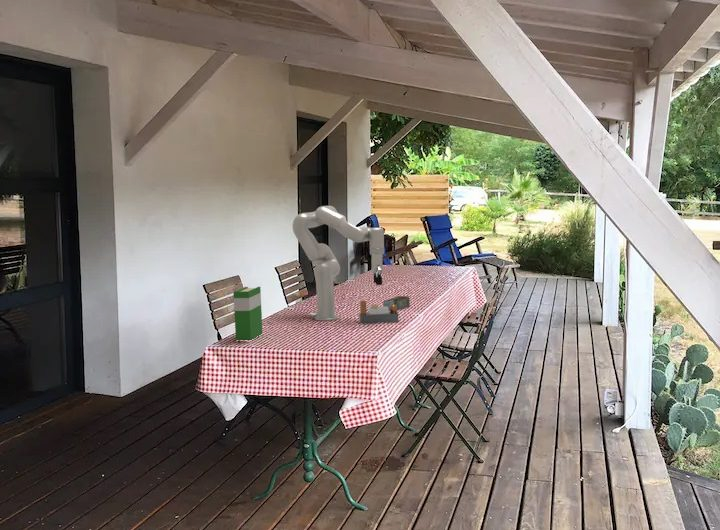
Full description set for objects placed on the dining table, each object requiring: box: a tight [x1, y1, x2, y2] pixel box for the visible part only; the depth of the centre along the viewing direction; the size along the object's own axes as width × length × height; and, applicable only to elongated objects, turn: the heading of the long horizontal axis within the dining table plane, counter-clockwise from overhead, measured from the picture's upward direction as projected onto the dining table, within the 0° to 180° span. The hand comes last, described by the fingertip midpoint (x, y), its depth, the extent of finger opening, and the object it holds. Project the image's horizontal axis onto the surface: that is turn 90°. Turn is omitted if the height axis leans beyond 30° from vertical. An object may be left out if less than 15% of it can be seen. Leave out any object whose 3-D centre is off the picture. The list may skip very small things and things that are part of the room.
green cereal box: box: [233, 286, 264, 341], centre depth 344 cm, size 18×7×24 cm, turn 170°
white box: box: [368, 304, 390, 315], centre depth 376 cm, size 10×5×4 cm, turn 95°
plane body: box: [358, 300, 400, 324], centre depth 377 cm, size 20×7×12 cm, turn 95°
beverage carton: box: [382, 295, 411, 312], centre depth 418 cm, size 8×19×7 cm, turn 148°
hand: (377, 283), depth 375 cm, fingers open, 9 cm apart
